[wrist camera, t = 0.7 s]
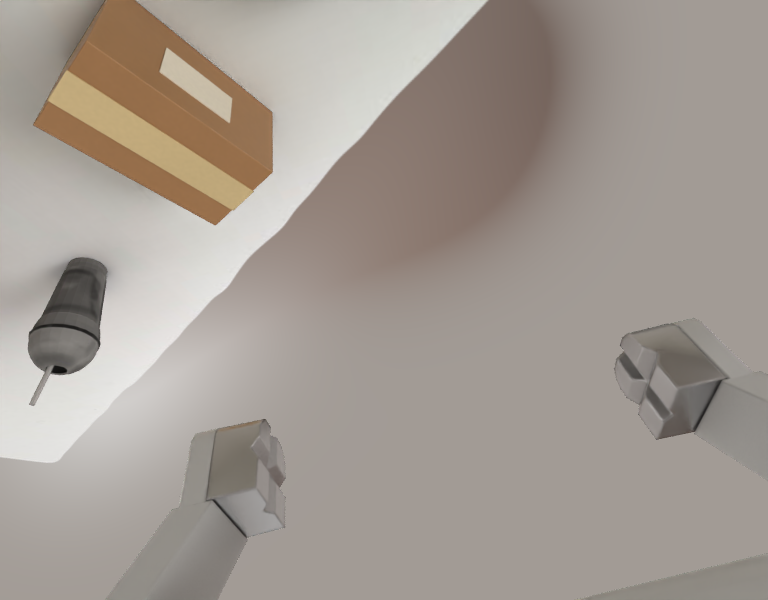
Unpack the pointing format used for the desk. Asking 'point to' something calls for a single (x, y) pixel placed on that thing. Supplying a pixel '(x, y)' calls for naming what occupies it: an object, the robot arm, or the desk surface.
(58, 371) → the beverage cup
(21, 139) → the desk surface
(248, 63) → the desk surface
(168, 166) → the carton
